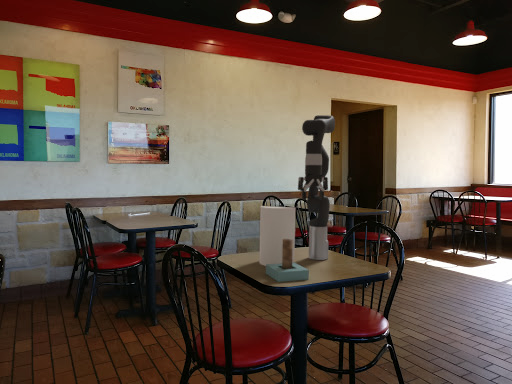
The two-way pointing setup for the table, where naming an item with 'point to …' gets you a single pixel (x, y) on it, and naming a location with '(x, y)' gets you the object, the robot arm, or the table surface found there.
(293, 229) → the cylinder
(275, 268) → the collar
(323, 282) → the table surface
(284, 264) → the walnut peg
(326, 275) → the table surface
